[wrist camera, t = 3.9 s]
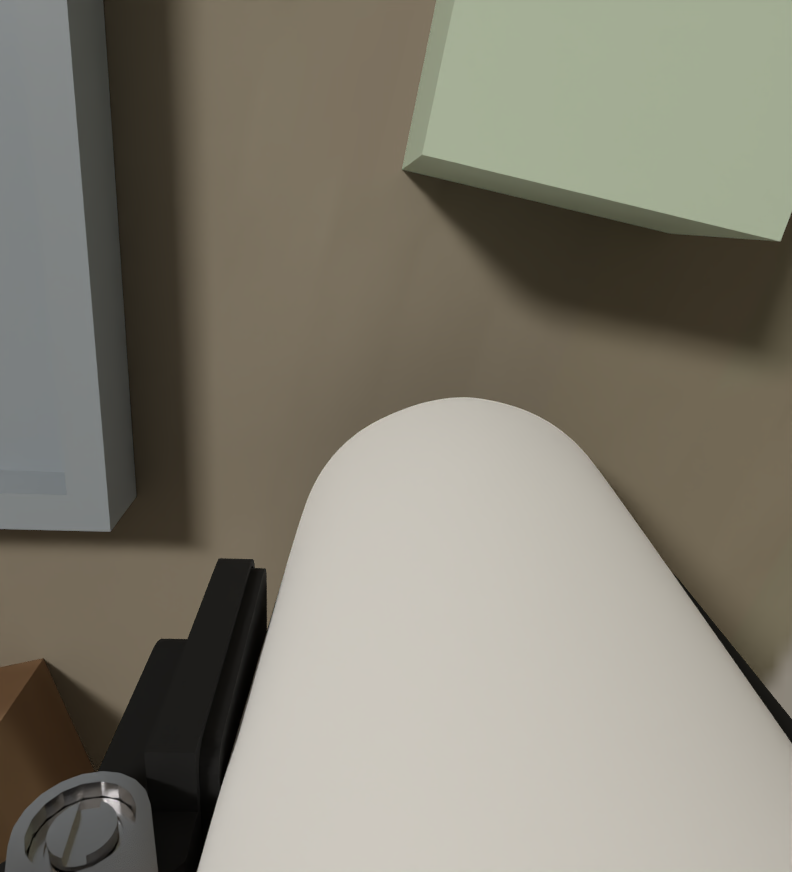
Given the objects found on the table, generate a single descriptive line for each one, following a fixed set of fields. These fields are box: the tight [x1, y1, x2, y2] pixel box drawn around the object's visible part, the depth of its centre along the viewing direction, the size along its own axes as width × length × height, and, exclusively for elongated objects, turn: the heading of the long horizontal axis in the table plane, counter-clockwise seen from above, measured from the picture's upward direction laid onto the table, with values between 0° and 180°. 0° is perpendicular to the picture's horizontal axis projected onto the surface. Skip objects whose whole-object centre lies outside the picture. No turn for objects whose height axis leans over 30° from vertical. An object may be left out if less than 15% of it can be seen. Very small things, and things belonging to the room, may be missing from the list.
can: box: [197, 397, 792, 872], centre depth 8 cm, size 6×6×12 cm
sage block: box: [402, 0, 792, 241], centre depth 12 cm, size 6×4×4 cm, turn 78°
